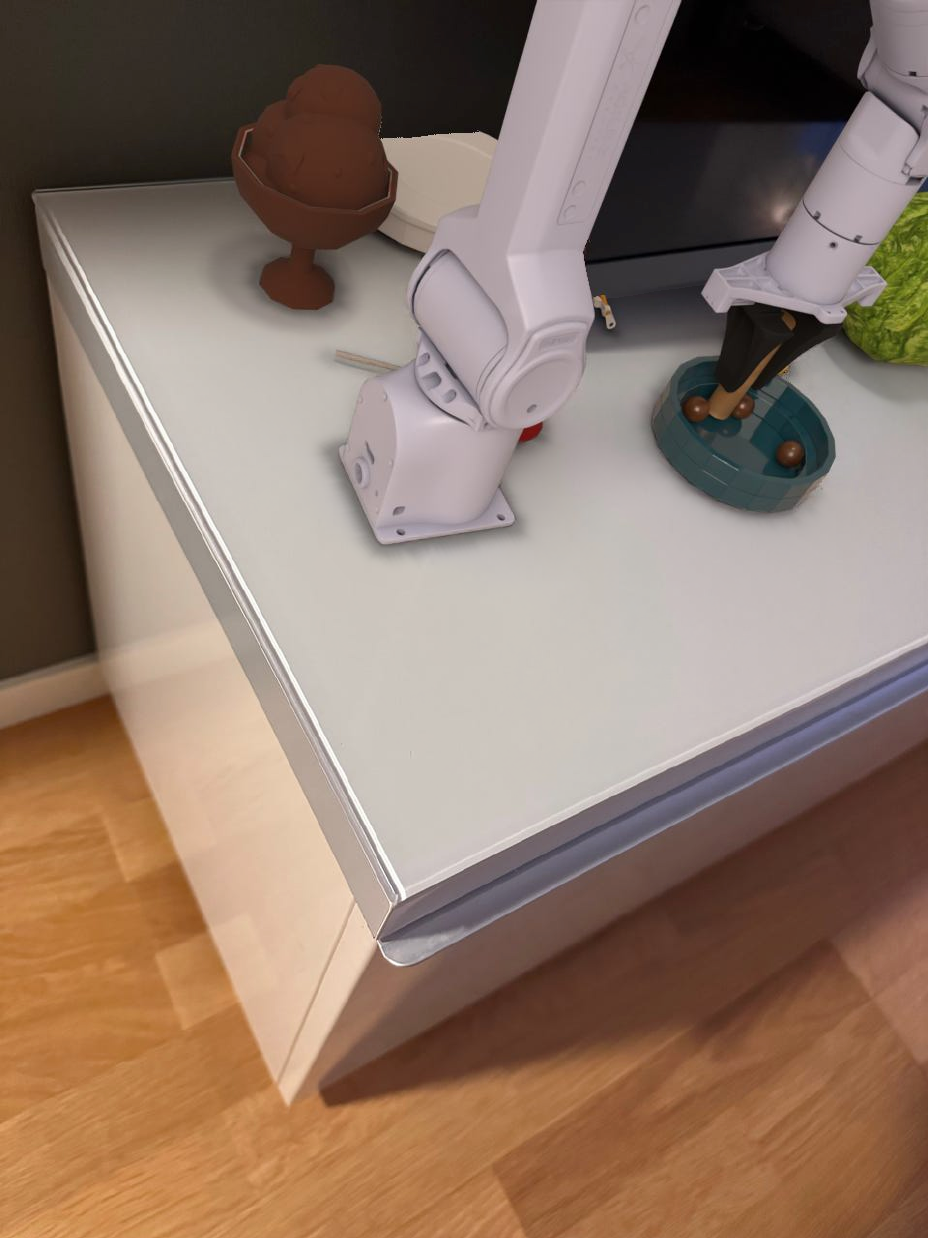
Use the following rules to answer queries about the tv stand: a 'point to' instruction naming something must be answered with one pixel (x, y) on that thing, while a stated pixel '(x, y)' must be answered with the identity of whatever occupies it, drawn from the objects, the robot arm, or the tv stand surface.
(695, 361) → the bowl
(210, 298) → the tv stand surface
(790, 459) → the hazelnut
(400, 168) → the lid
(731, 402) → the stirring stick
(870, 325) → the lettuce
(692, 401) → the hazelnut
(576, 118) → the robot arm
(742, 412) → the hazelnut
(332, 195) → the ice cream bowl
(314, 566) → the tv stand surface
